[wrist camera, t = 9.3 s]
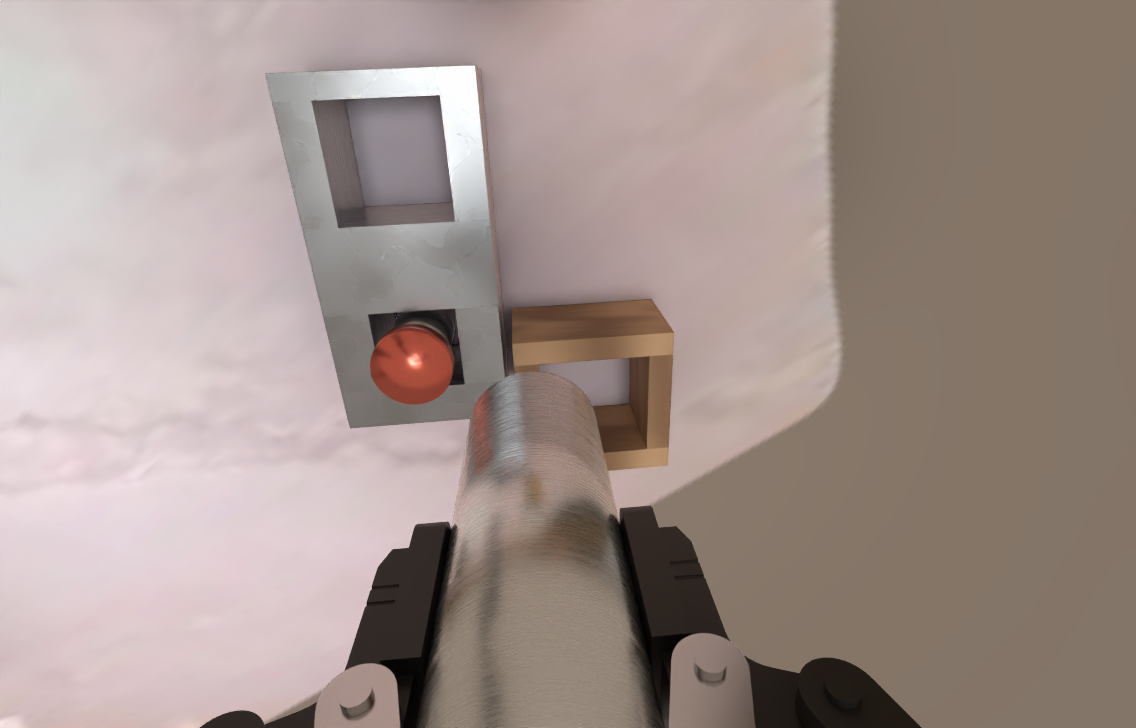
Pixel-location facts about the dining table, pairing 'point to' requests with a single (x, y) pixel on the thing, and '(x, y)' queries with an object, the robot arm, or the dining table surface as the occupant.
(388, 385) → the copper-capped cylinder
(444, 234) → the socket block
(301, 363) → the dining table surface
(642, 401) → the wooden hollow square frame
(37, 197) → the dining table surface
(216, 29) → the dining table surface
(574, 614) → the gray round-topped cylinder
